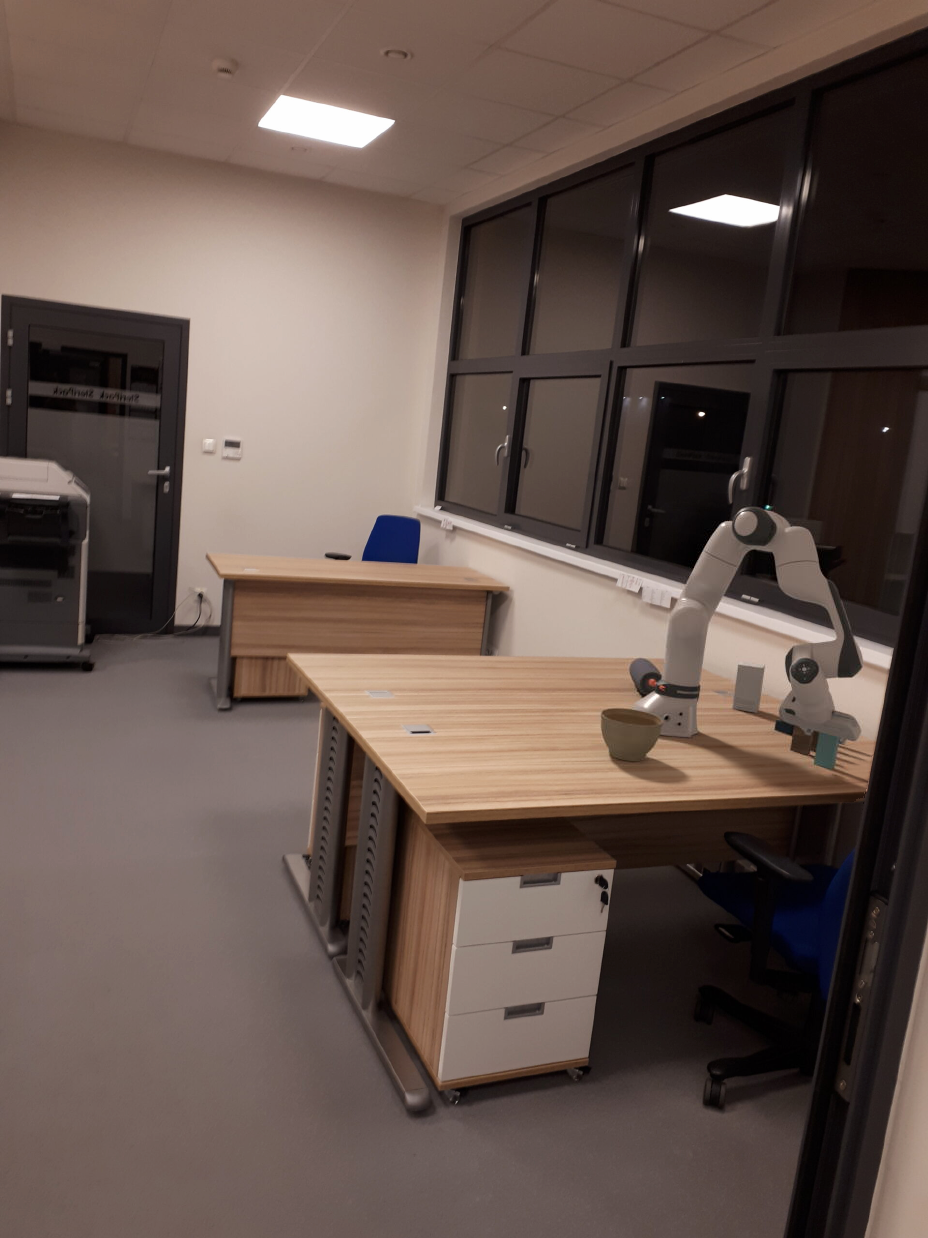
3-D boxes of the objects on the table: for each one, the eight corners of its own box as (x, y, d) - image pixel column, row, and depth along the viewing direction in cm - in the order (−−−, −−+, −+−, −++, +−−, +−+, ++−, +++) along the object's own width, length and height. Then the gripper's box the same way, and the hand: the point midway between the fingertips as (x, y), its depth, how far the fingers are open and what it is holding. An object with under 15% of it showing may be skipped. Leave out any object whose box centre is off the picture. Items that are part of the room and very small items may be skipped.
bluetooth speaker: (663, 701, 316) (668, 672, 314) (635, 698, 316) (640, 668, 314) (651, 685, 338) (655, 658, 337) (625, 682, 338) (629, 655, 337)
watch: (802, 733, 293) (808, 699, 291) (785, 735, 289) (791, 700, 287) (787, 728, 298) (793, 694, 296) (770, 730, 293) (776, 695, 291)
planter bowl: (615, 742, 260) (620, 704, 258) (668, 759, 250) (674, 719, 248) (583, 752, 247) (589, 712, 246) (638, 770, 238) (644, 729, 236)
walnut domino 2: (816, 752, 274) (822, 718, 272) (800, 747, 277) (805, 714, 276) (819, 751, 275) (825, 717, 274) (803, 746, 279) (808, 713, 277)
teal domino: (831, 769, 258) (837, 734, 256) (813, 764, 261) (819, 729, 260) (834, 768, 259) (840, 733, 258) (816, 762, 263) (822, 728, 261)
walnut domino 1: (806, 755, 269) (812, 721, 268) (790, 750, 273) (795, 716, 271) (809, 754, 271) (815, 720, 269) (793, 749, 274) (799, 715, 272)
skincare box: (759, 710, 318) (766, 665, 316) (756, 714, 312) (764, 668, 310) (733, 705, 322) (741, 660, 319) (730, 708, 316) (738, 663, 313)
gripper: (860, 707, 242) (868, 739, 251) (785, 688, 256) (795, 719, 265) (850, 726, 240) (859, 758, 249) (775, 706, 254) (786, 736, 263)
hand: (825, 737), depth 257 cm, fingers open, 8 cm apart
